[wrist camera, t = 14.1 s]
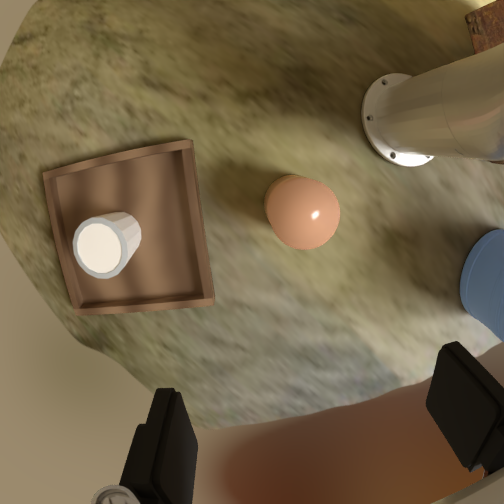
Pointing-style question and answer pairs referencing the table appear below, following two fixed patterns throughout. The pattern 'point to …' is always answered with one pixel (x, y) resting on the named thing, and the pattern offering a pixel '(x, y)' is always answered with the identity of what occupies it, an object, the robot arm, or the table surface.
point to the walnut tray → (150, 221)
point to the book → (487, 29)
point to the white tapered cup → (106, 243)
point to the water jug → (485, 282)
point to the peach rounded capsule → (301, 211)
